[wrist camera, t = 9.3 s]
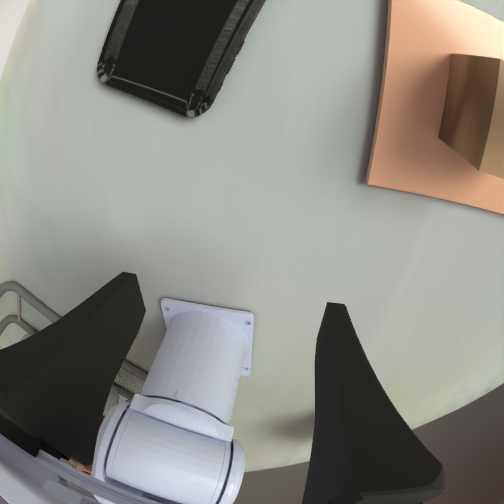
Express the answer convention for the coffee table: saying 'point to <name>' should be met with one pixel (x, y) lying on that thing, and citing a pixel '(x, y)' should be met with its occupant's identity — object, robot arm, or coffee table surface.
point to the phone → (175, 49)
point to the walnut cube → (475, 112)
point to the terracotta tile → (429, 101)
